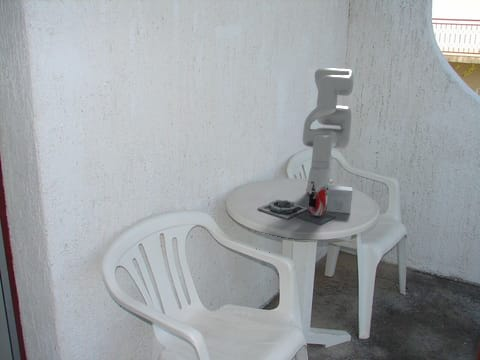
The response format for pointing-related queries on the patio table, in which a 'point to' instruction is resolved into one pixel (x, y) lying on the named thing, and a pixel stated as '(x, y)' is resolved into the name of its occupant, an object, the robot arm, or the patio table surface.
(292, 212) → the collar
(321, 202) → the soda can
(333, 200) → the skincare box
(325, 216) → the mat
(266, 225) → the patio table surface
